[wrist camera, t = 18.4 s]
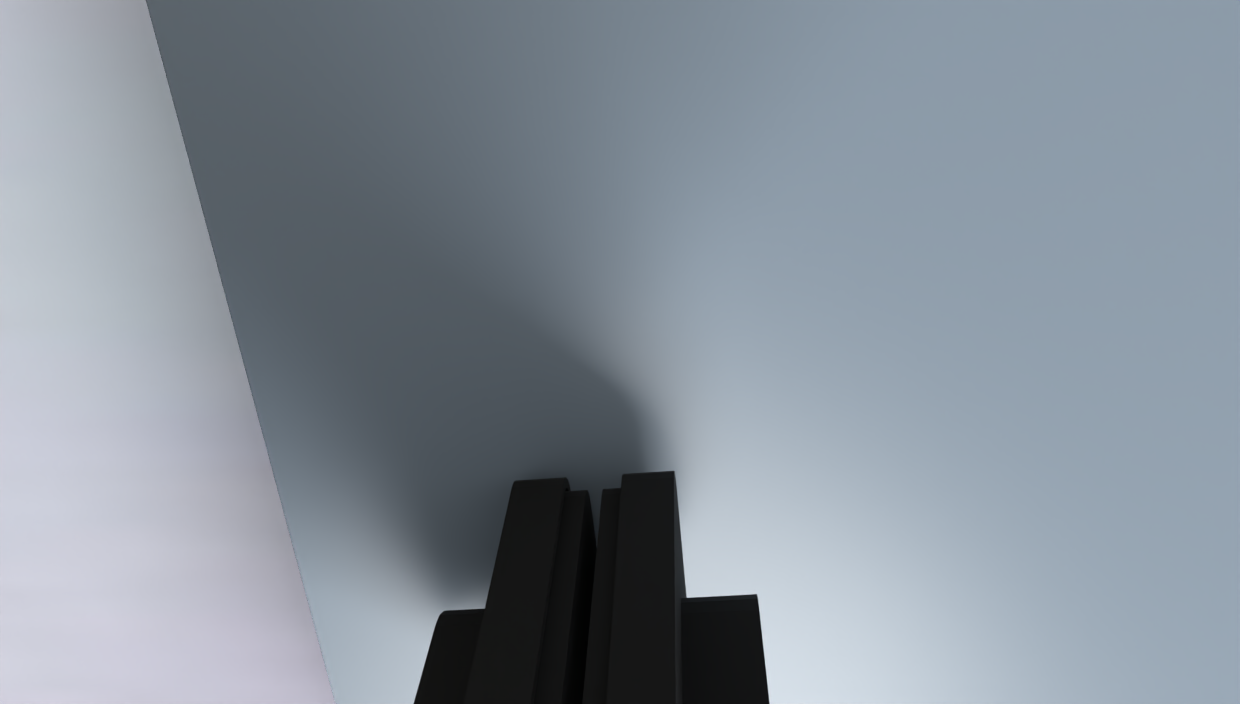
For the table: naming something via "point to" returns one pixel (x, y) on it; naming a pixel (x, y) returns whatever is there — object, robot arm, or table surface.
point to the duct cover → (751, 317)
